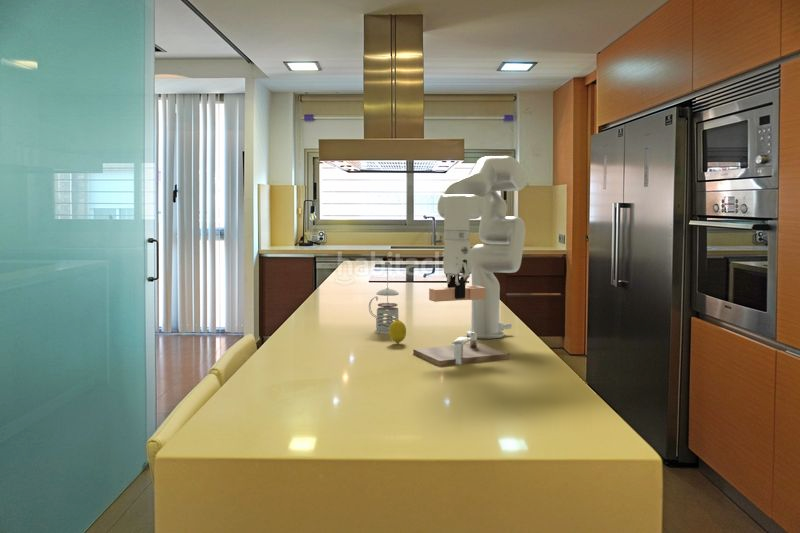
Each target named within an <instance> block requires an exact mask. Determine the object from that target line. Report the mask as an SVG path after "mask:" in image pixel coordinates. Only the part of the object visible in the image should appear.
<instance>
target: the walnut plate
mask: <svg viewBox="0 0 800 533" xmlns="http://www.w3.org/2000/svg"><path fill="white" fill-rule="evenodd" d="M412 350H413V351H412V352H413V353H412V354H413V355H414V356H416V357H419V358H421V359H423V360H425V361H427V362H430V363H431V364H434V365H435V366H438V367H443V366H454V365H457V364H456V359H454V344H452V345H444V346H433V347H424V348H423V347H421V348H413V349H412ZM509 359H510V353H509V352H506V351H503V350H500V349H498V348H494V347H492V346H488V345H486V344H484V343H480V342H477V348H471V347H470V343H466V344H464V345H463V364H462V365H464V364H470V363H471V364H472V363H480V362H489V361H499V360H509Z"/></svg>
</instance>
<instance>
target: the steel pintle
mask: <svg viewBox="0 0 800 533" xmlns="http://www.w3.org/2000/svg"><path fill="white" fill-rule="evenodd" d="M469 338H471V340H470V342H469V344H470V347H471V348H477V343H478V342H477V341H478V338H477V333H476V332H470V337H469Z"/></svg>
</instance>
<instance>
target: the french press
mask: <svg viewBox="0 0 800 533" xmlns="http://www.w3.org/2000/svg"><path fill="white" fill-rule="evenodd" d="M384 265H385V266H386V267H387V269H386V270H387V273H386V274H387V275H386V277H387V278H386V280H387V281H386V283H387V284H386V286H387V287H386V288H383V289H382V288H381V289H380V290H378V291H377V292H375V293H376V295H378V296H382V297H383V296H385V297H387V300H386V301H387V302H380V303H378V304H377V306H378V308H377V309H376V315H375V314H374V313H373V311H372V308H371V307H372V306H371V305H372V302H373V300H374V299H375V300H376V302H378V300H379V297H378V296H374V297H372V299H370V300H369V303H368V311H369V313H370V315H371V316H372V317H374V318H375V319H376V322H375V323H376V325H375V327H376V328H375V329H374V331H373V333H375V334H379V333H380V335H381V334H382V335H389V328H390V325H391V324H392V322H394V321H396V320H397V319H398V320H399V308H398V303H395V302H389V296H391V297H393V296H394V297H395V296H398V295H400V293H399V291H397V290H395V289H393V288H389V266H390V265H391V262H390V261H385V262H384Z"/></svg>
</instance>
